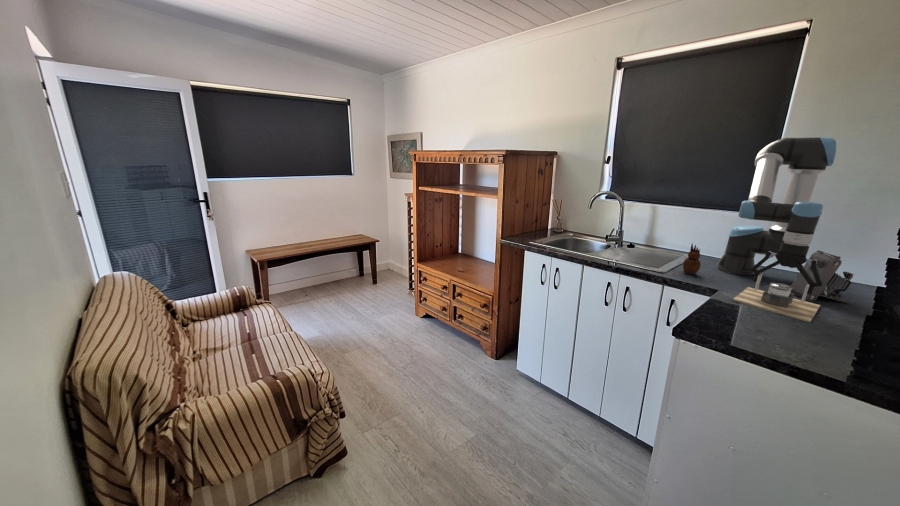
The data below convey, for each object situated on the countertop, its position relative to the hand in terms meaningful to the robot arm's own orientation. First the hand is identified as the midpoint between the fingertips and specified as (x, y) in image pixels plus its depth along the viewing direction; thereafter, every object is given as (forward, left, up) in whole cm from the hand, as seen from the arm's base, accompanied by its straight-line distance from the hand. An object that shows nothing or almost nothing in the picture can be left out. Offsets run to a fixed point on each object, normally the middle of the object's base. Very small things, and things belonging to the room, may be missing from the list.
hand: (778, 295), depth 131 cm
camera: (-24, +9, -4) cm, 26 cm away
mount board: (0, 0, -4) cm, 4 cm away
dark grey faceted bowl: (0, 0, -4) cm, 4 cm away
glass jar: (0, 0, -3) cm, 3 cm away
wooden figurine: (-13, -34, -4) cm, 37 cm away
